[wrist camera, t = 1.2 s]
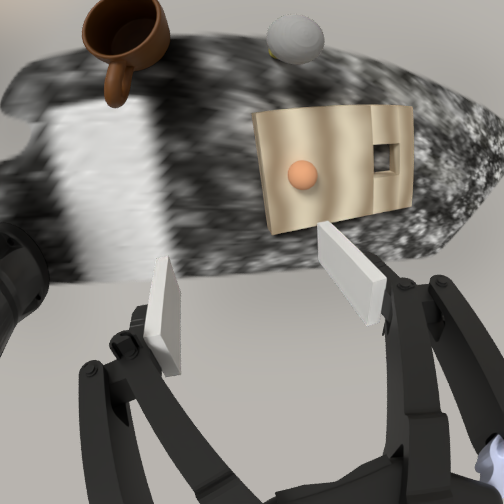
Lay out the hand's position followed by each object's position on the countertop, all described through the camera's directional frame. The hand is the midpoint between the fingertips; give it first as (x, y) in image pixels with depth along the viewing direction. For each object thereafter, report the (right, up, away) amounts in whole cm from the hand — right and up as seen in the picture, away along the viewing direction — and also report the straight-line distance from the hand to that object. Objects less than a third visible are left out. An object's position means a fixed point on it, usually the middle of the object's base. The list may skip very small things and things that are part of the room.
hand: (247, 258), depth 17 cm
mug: (-13, +22, +8) cm, 27 cm away
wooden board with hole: (+12, +12, +18) cm, 25 cm away
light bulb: (+3, +24, +10) cm, 26 cm away
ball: (+6, +9, +14) cm, 18 cm away
